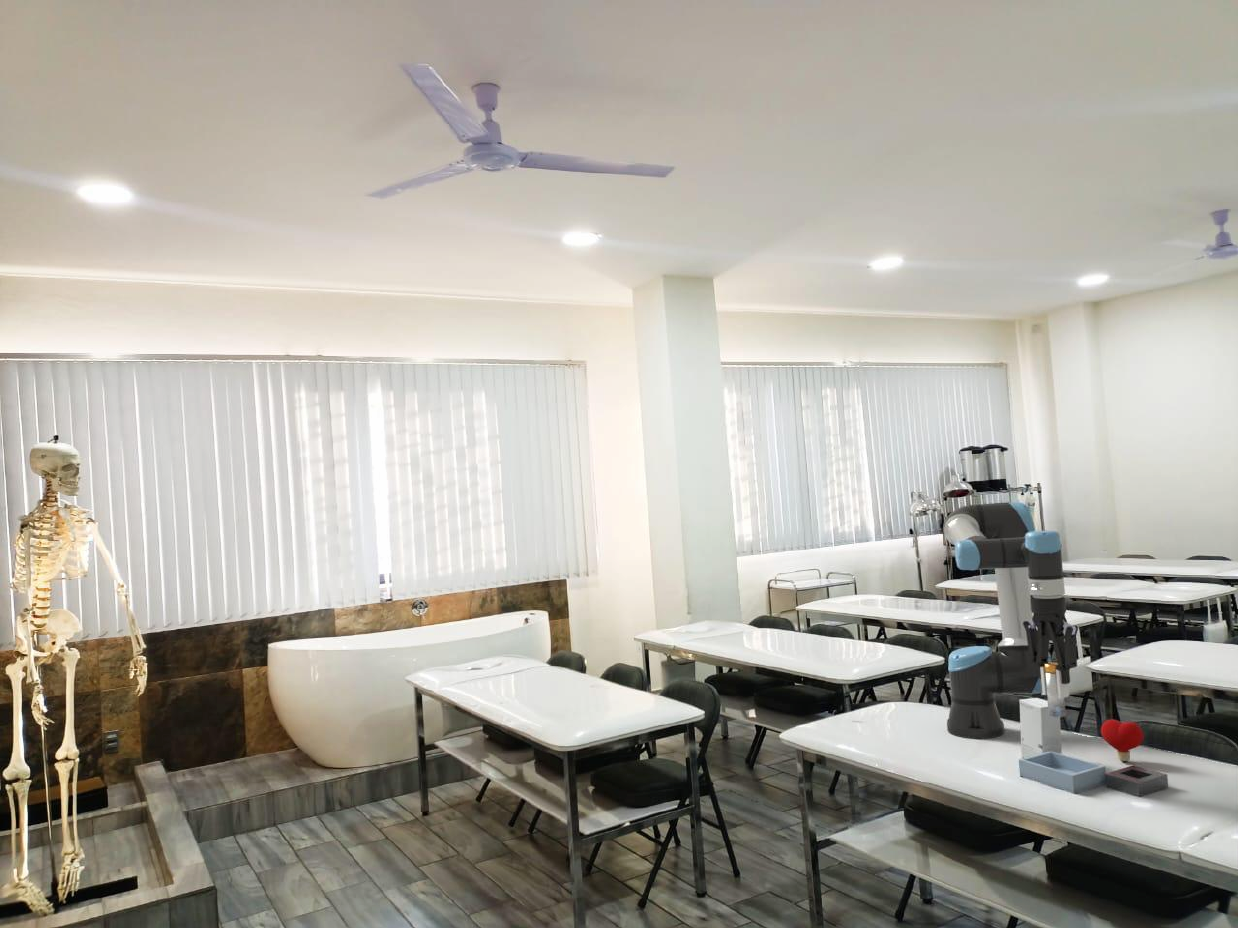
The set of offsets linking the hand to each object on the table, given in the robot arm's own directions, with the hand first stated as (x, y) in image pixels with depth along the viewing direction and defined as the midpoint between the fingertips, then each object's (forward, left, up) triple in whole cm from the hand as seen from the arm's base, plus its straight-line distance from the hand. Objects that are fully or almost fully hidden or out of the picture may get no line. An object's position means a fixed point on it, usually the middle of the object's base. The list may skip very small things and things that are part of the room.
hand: (1055, 695), depth 207 cm
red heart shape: (0, +22, -20) cm, 30 cm away
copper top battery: (0, 0, -5) cm, 5 cm away
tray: (0, 0, -20) cm, 20 cm away
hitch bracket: (+12, +9, -20) cm, 25 cm away
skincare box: (-12, +8, -20) cm, 25 cm away
